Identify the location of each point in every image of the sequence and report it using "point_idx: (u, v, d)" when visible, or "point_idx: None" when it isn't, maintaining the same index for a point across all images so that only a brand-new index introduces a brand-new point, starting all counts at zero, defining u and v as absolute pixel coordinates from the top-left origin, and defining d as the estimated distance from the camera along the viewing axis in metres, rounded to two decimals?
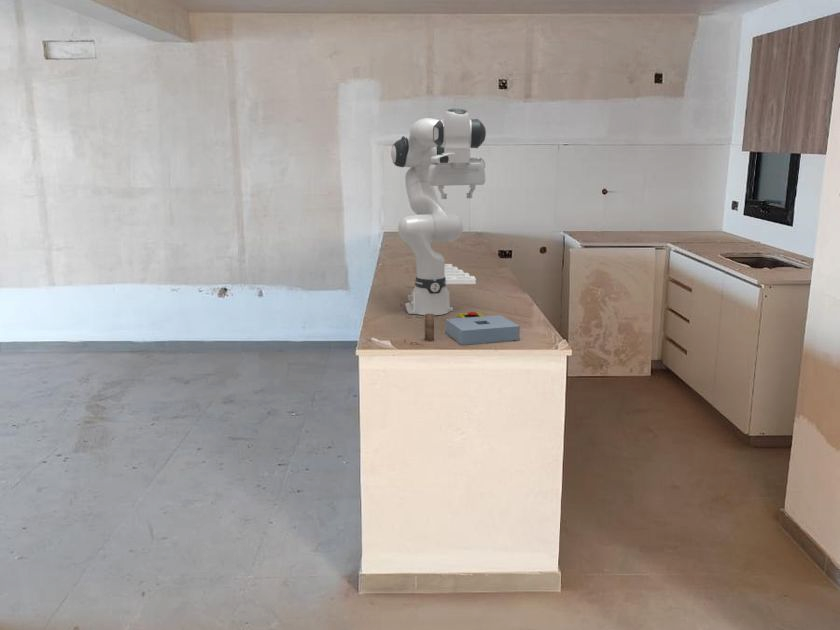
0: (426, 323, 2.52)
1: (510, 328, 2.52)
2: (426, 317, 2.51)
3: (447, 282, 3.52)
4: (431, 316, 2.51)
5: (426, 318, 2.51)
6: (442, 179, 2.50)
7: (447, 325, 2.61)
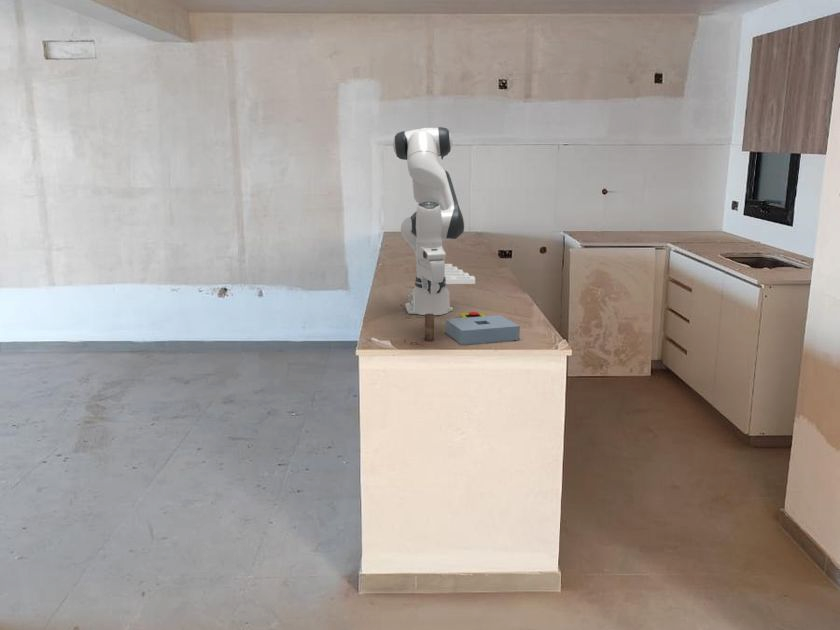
0: (426, 323, 2.52)
1: (510, 328, 2.52)
2: (426, 317, 2.51)
3: (447, 282, 3.52)
4: (431, 316, 2.51)
5: (426, 318, 2.51)
6: None
7: (447, 325, 2.61)
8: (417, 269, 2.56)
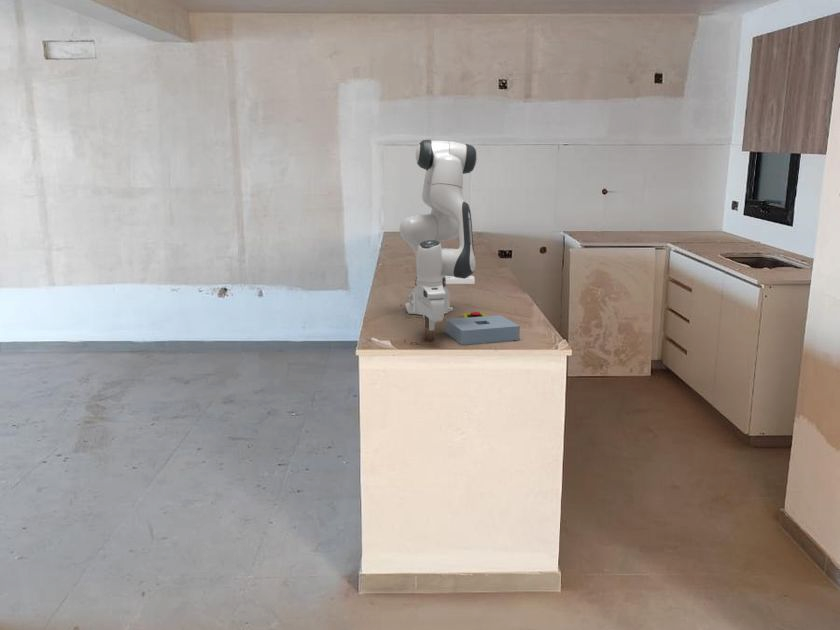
0: (426, 323, 2.52)
1: (510, 328, 2.52)
2: (426, 317, 2.51)
3: (446, 282, 3.53)
4: None
5: (426, 318, 2.51)
6: None
7: (447, 325, 2.61)
8: (417, 305, 2.59)
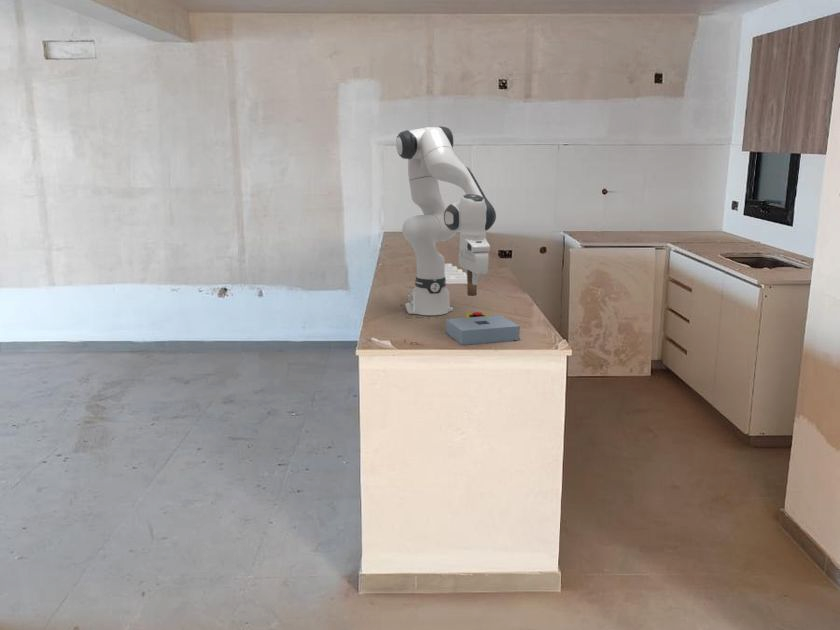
0: (469, 278, 2.52)
1: (510, 328, 2.52)
2: (469, 271, 2.51)
3: (446, 281, 3.53)
4: None
5: (469, 273, 2.51)
6: None
7: (447, 325, 2.61)
8: (459, 261, 2.59)
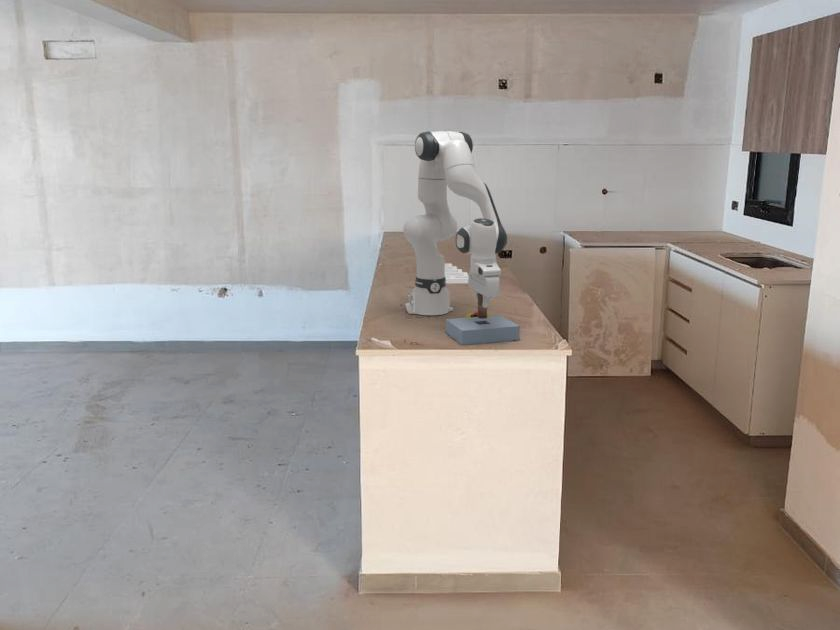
0: (480, 301, 2.55)
1: (510, 328, 2.52)
2: (480, 295, 2.54)
3: None
4: None
5: (480, 296, 2.54)
6: None
7: (447, 325, 2.61)
8: (469, 283, 2.62)
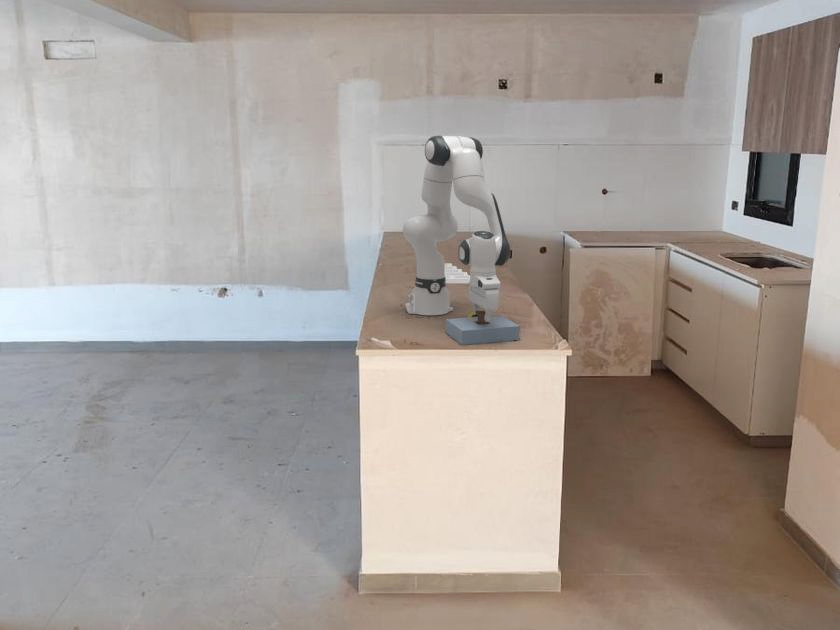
0: (479, 320, 2.56)
1: (510, 328, 2.52)
2: (479, 314, 2.56)
3: None
4: (484, 313, 2.55)
5: (479, 315, 2.56)
6: None
7: (447, 325, 2.61)
8: (469, 295, 2.63)
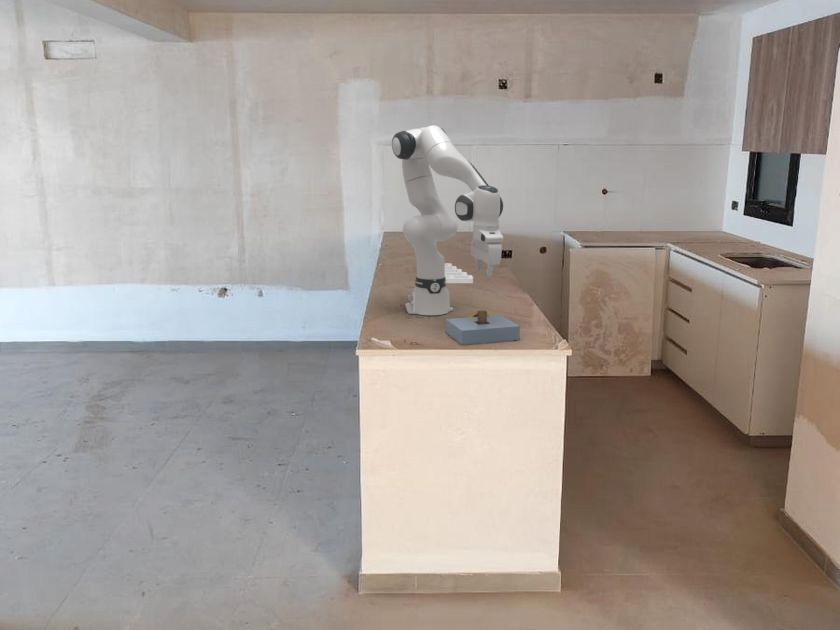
0: (479, 320, 2.56)
1: (510, 328, 2.52)
2: (479, 314, 2.56)
3: None
4: (484, 313, 2.55)
5: (479, 315, 2.56)
6: None
7: (447, 325, 2.61)
8: (472, 251, 2.62)
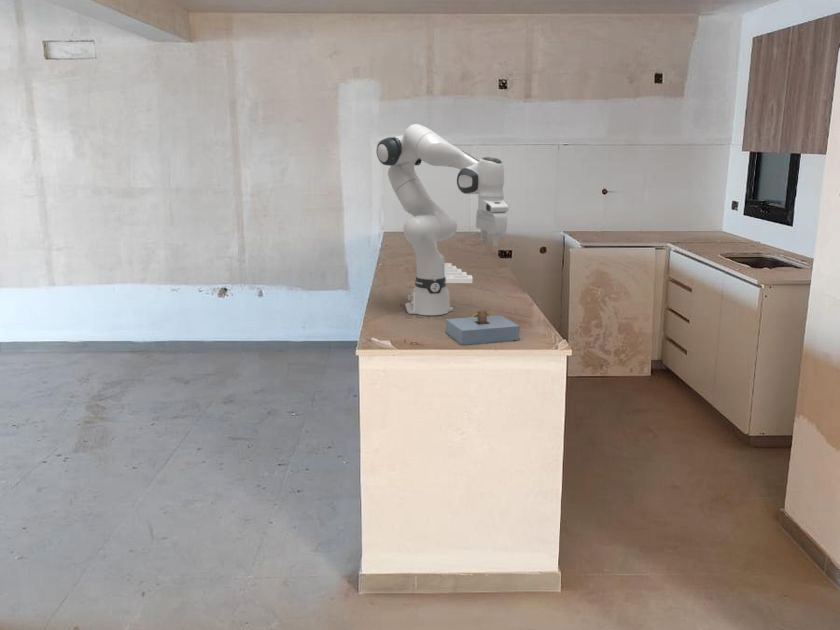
0: (479, 320, 2.56)
1: (510, 328, 2.52)
2: (479, 314, 2.56)
3: None
4: (484, 313, 2.55)
5: (479, 315, 2.56)
6: None
7: (447, 325, 2.61)
8: (477, 223, 2.67)
